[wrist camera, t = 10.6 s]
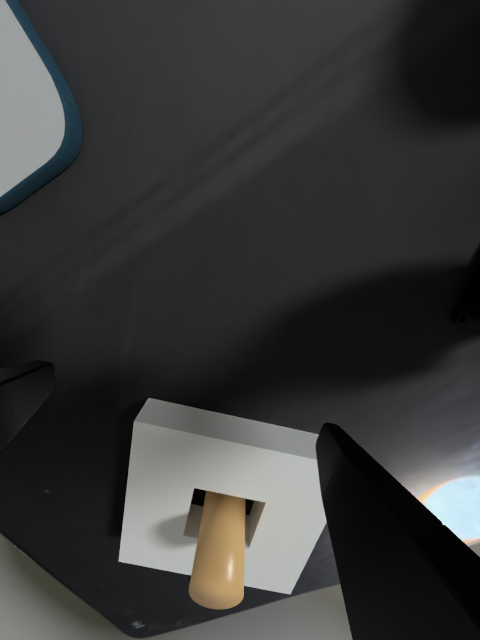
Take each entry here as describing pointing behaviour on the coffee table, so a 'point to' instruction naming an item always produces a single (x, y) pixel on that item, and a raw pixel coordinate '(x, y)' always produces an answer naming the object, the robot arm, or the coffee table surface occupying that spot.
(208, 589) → the tan peg
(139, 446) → the grey board with hole
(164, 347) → the coffee table surface
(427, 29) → the coffee table surface
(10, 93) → the external hard drive
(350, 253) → the coffee table surface
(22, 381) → the robot arm
